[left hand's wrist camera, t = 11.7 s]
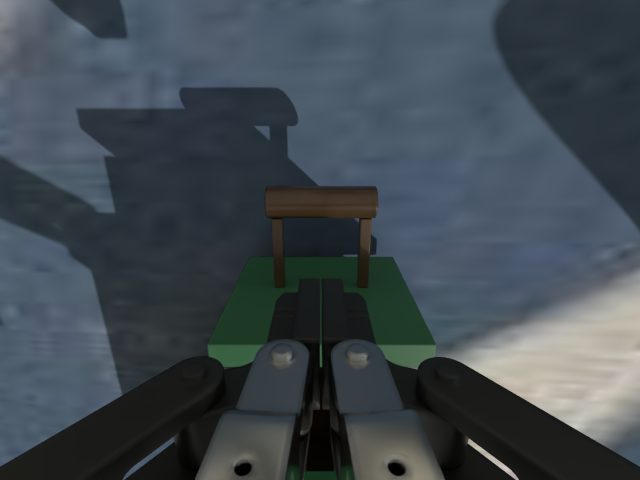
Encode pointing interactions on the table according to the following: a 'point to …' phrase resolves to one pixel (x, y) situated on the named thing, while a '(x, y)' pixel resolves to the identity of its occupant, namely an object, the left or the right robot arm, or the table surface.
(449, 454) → the left robot arm
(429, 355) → the drawer
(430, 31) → the table surface
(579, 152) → the table surface
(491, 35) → the table surface
